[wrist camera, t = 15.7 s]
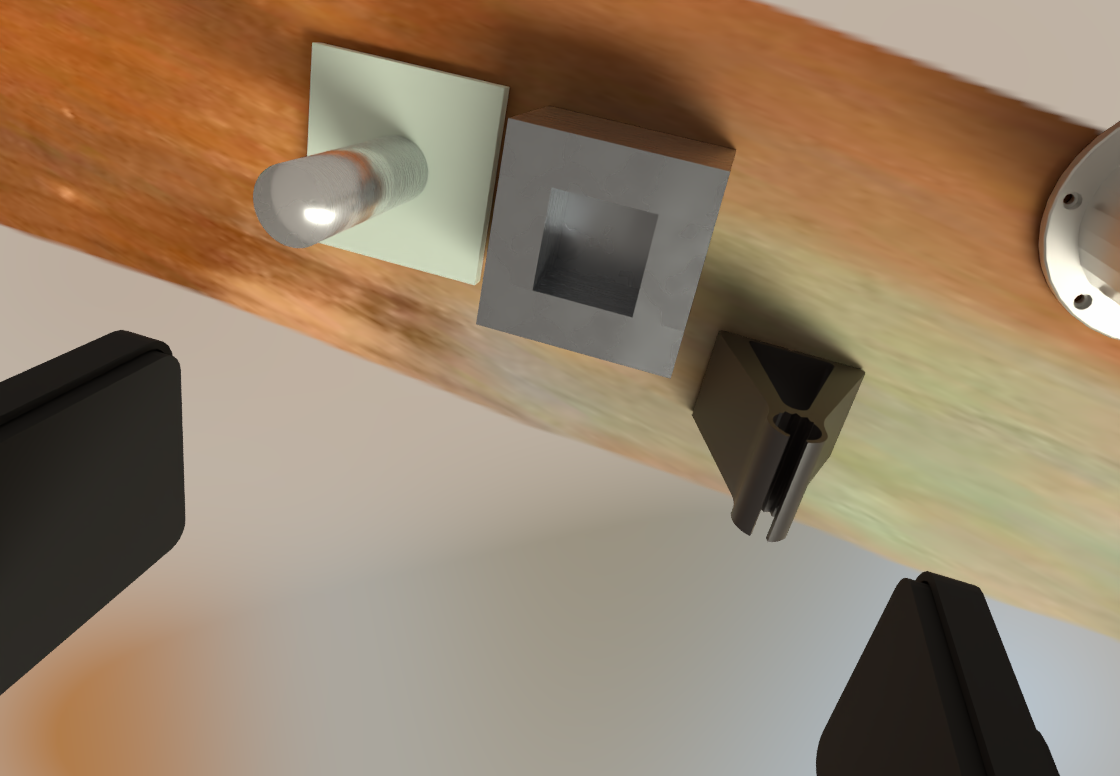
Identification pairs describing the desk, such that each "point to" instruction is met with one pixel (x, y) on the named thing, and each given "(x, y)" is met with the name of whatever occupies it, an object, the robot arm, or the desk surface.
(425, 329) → the desk surface
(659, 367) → the chuck block
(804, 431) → the phone stand
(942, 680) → the robot arm
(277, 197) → the grey metal cylinder
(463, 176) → the mat
